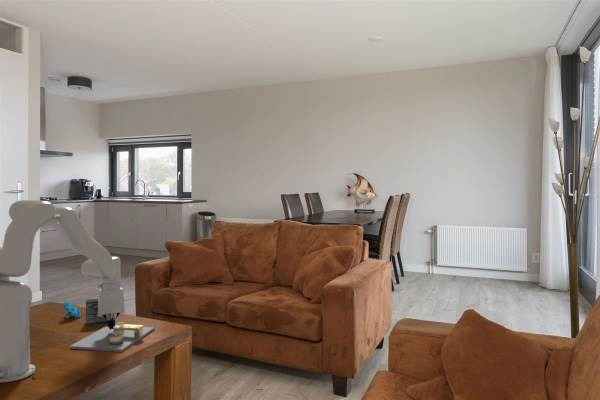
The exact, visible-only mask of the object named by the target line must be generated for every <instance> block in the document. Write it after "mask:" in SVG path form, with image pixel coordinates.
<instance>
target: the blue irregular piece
mask: <svg viewBox="0 0 600 400" xmlns="http://www.w3.org/2000/svg"><path fill="white" fill-rule="evenodd" d="M62 306H63V309H64V310H65V311H66V314H65V315H64V316H63V319H66V318H67V317H68V316H72V317H74V318H76V319H77V318H78V319H80V318H81V316H82V314H81V312H80V310H78V307H77V306H74V304H71V303H70V302H67V301H65V302H64V303H63V305H62Z"/></svg>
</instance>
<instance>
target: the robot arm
mask: <svg viewBox="0 0 600 400" xmlns="http://www.w3.org/2000/svg"><path fill="white" fill-rule="evenodd" d="M8 216H9V218H10V219H11V222H10V223H9V224H8V226H7V228H6V230H5V234H4V238H3V243H2V247H0V383H2V384H3V383H11V382H15V381H20V380H23V379H25V378H28V377H29V376H31V375H33V374H34V373H35V372H36V366H35V365H34V364H32V363H31V352H30V351H31V349H30V348H31V347H30V346H31V344H30V343H31V342H30V341H31V339H30V337H31V336H30V335H31V334H30V333H31V331H30V311H31V307H32V306H31V305H32V301H33V291H32V289H31V287H30V286H29V285H28V284H26V283H24V282H21V281H16V280H10V278H20V277H23V276H25V275H27V274H28V273H29V271H30V269H31V266H32V265H31V264H32V256H33V248H34V240H35V238H36V234H37V232H38V231H39V230H40V229H41V228H45V229H56V230H57V231H58V233H59V234H60V236H61V238H62V239H63V240H64V242H65V244H66V246H67V247H68V248H69V249H70V250H71V251H73V252H75V253H77V254H80V255H82V256H84V257H86V258H88V259H87V260H85V261H83V263H82V264H81V265H80V272H81V274H82V275H83V276H84V277H87V278H95V279H100V281H101V282H100V283H99V284H97V288H99V293H98V298H97V299H98V314H97V315H98V317H104V318H105V319H107V323H106V324H107V325H106V326H107V327H109V329H110V330H111V328H112V329H114V326H115V325H116V319H117V318H118V317H119V316H121V315H123V314H125V313H126V312H125V293H124V289H123V288H122V287H121V282H122V280H121V276H122V275H121V271H122V270H121V269H122V268H121V264H122V263H121V262H122V261H121V258H120V257H119V256H112V255H111V253H110V251H108V250H107V248H105V246H103V244H101V243H100V242H98V240H96V239H95V238H94V237H92V236H91V235H90V234H89V231H88V230H87V229H86V227H85V225H84V224H83V222H82V220H81V218H80V217H79V215H78V213H77V212H76V210H74V209H73V208H71V207H69V206H55V205H54V204H53V203H51V202H49V201H45V200H31V199H30V200H28V199H27V200H26V199H24V200H23V199H21V200H17V201H15V202H13V203H12V204H11V205H10V207H9V209H8ZM109 314H111V318H110V315H109Z"/></svg>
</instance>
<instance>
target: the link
mask: <svg viewBox="0 0 600 400" xmlns="http://www.w3.org/2000/svg"><path fill="white" fill-rule="evenodd" d="M124 324H126V323H125V322H120V321H119V322H115V328H114V331H113V334H112V335H111V336H110V344H120V343H122V342H123V333H124V330H119V327H120V326H122V325H124Z"/></svg>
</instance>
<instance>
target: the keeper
mask: <svg viewBox="0 0 600 400" xmlns="http://www.w3.org/2000/svg"><path fill="white" fill-rule="evenodd" d="M144 327H145V326H144V325H142V324H129V323H128V324H127V323H125V324H124V325H122V326H120V327H119V330H134V337H135V338H140V337H142V336H143V328H144Z"/></svg>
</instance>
